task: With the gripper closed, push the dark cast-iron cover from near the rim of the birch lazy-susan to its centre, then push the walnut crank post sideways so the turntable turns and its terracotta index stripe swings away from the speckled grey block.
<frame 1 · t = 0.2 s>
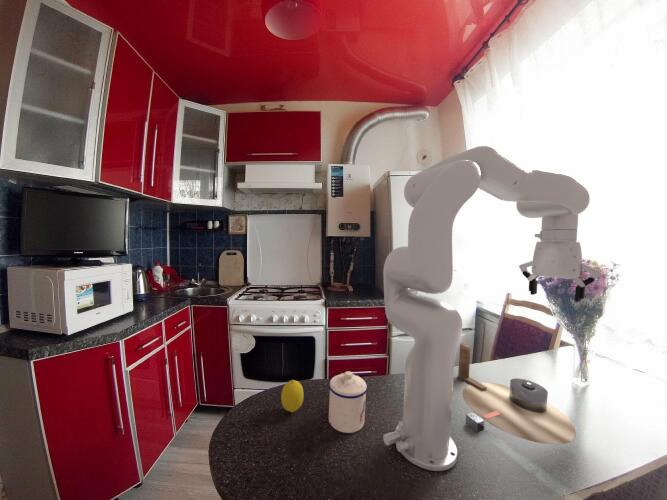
hand: (554, 297, 71), 30 cm above the table, tool pointing down, fingers open, 9 cm apart
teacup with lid: (345, 416, 62), on the table
lemon: (291, 412, 63), on the table
turntable: (506, 386, 67), point 6 cm above the table, hinge at 0.0°, touching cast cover
speckled grey block: (474, 427, 60), on the table
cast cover: (527, 402, 68), point 1 cm above the table, touching turntable
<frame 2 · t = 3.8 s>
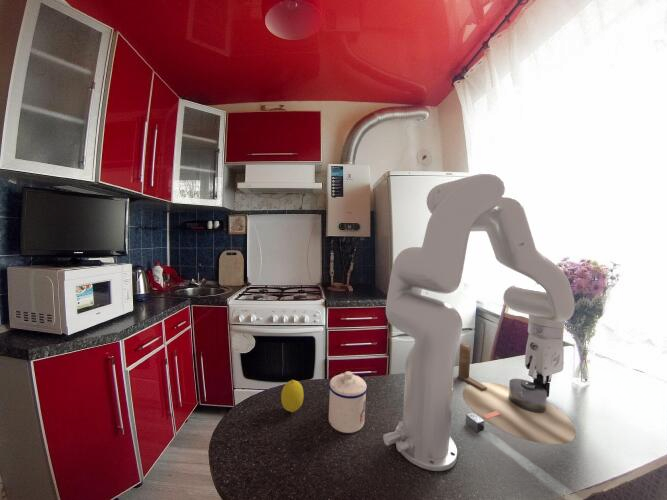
hand: (540, 394, 70), 2 cm above the table, tool pointing down, fingers closed
turntable: (506, 386, 67), point 6 cm above the table, hinge at -0.1°
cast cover: (526, 402, 68), point 2 cm above the table, touching gripper
everything else where it was.
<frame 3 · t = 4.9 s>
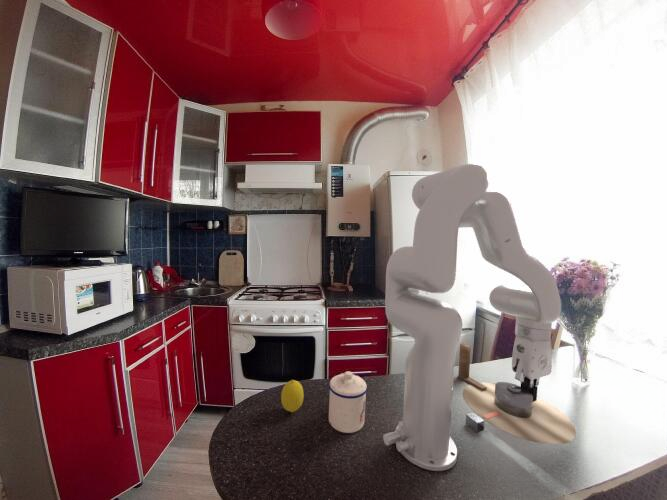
hand: (528, 398, 68), 3 cm above the table, tool pointing down, fingers closed
turntable: (506, 386, 67), point 6 cm above the table, hinge at -0.1°, touching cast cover
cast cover: (512, 407, 66), point 2 cm above the table, touching turntable
everything else where it was.
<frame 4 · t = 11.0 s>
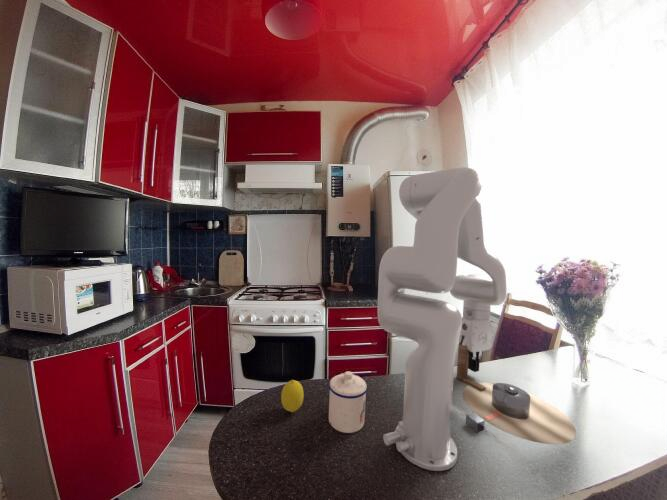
hand: (472, 369, 81), 4 cm above the table, tool pointing down, fingers closed
turntable: (506, 386, 67), point 6 cm above the table, hinge at 2.7°, touching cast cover, gripper
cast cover: (509, 408, 65), point 1 cm above the table, touching turntable
everything else where it was.
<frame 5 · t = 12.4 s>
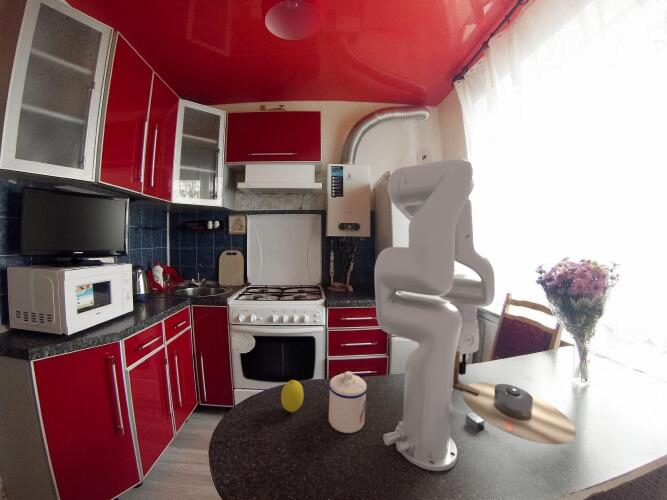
hand: (459, 372, 79), 4 cm above the table, tool pointing down, fingers closed
turntable: (505, 387, 67), point 6 cm above the table, hinge at 25.9°, touching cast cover, gripper
everything else where it was.
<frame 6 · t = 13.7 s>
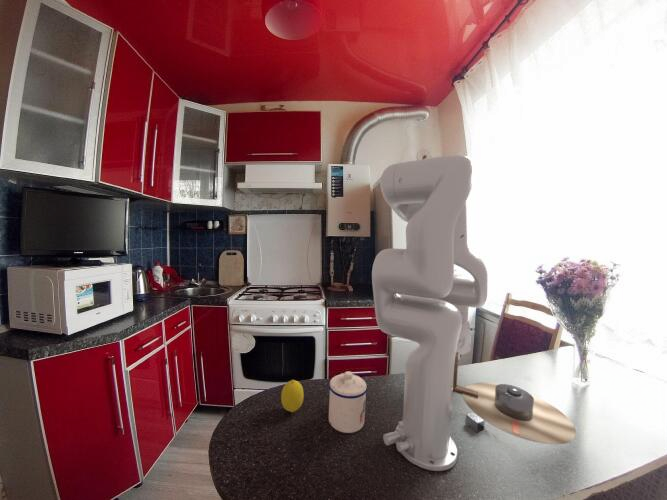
hand: (450, 374, 77), 4 cm above the table, tool pointing down, fingers closed
turntable: (505, 387, 67), point 6 cm above the table, hinge at 33.9°, touching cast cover, gripper
everything else where it was.
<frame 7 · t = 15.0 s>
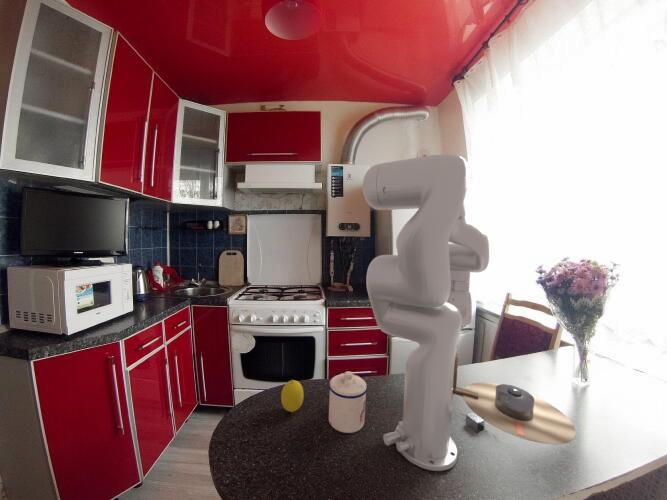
hand: (451, 346, 76), 13 cm above the table, tool pointing down, fingers closed
turntable: (505, 387, 66), point 6 cm above the table, hinge at 38.4°, touching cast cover
everything else where it was.
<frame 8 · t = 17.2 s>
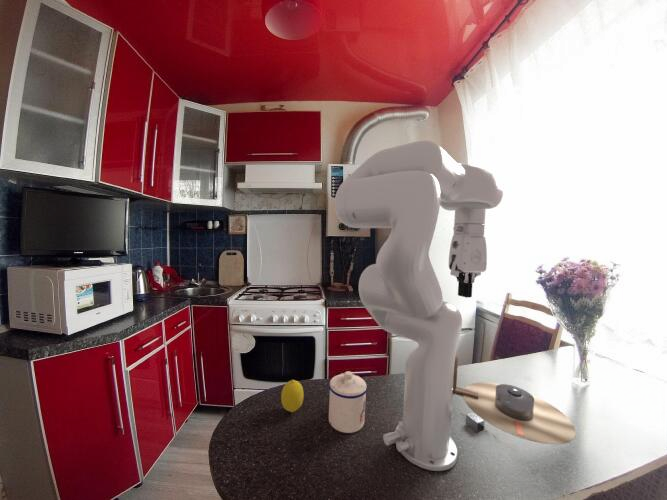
hand: (464, 296, 71), 29 cm above the table, tool pointing down, fingers closed
nothing on the table moved.
at the end: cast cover 1.3 cm from the turntable (horizontally); turntable at +38° (first picture: +0°); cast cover tilted 0° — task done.
